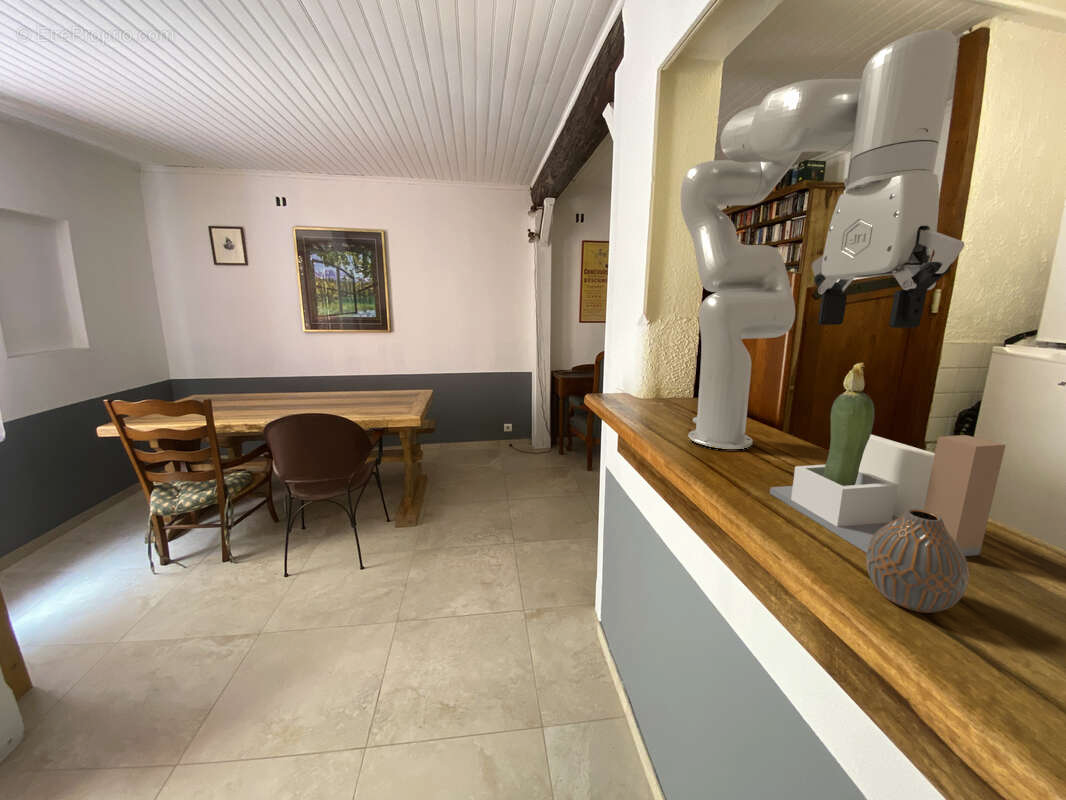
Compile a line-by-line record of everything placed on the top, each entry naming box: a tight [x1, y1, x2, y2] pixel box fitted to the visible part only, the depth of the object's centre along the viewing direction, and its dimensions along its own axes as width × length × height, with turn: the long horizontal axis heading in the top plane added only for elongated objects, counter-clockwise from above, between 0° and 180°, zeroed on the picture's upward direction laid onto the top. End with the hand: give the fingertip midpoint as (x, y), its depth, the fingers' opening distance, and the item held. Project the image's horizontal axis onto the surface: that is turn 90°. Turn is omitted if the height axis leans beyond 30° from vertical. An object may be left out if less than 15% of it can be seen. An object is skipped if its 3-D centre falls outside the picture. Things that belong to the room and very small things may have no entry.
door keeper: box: [769, 433, 1007, 557], centre depth 52 cm, size 18×12×13 cm, turn 7°
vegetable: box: [823, 362, 875, 486], centre depth 51 cm, size 4×4×20 cm
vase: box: [865, 509, 970, 614], centre depth 37 cm, size 7×7×9 cm
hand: (863, 325), depth 49 cm, fingers open, 9 cm apart
